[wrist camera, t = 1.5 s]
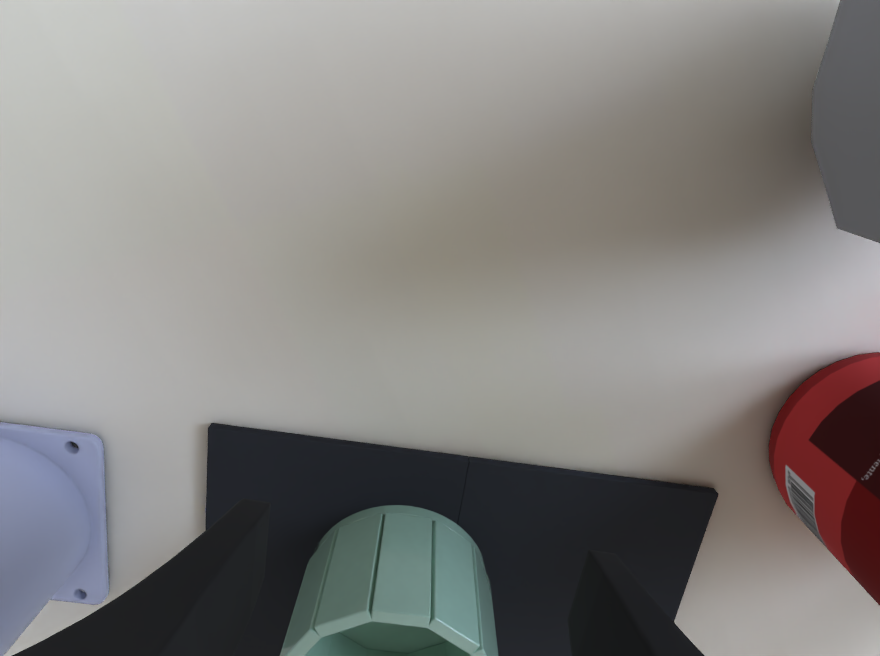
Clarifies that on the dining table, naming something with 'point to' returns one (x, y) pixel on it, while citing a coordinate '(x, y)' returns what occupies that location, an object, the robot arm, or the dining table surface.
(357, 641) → the cup
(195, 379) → the dining table surface
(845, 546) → the canned food
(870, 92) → the bottle
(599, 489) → the mat
